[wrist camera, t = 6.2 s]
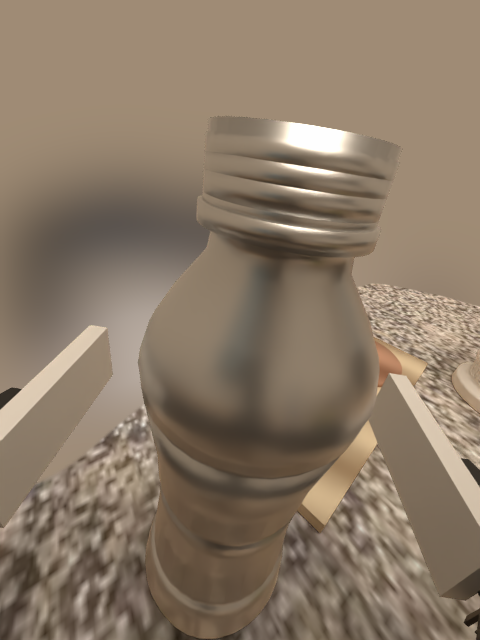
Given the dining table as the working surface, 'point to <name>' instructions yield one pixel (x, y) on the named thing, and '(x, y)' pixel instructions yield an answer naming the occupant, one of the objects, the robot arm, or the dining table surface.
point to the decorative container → (468, 382)
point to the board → (356, 444)
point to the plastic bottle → (259, 360)
